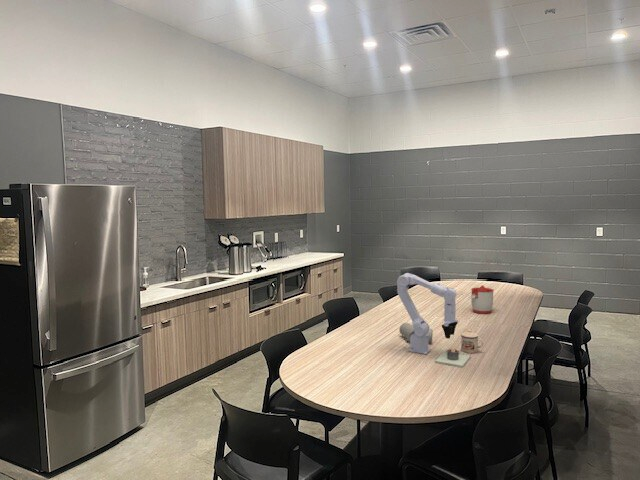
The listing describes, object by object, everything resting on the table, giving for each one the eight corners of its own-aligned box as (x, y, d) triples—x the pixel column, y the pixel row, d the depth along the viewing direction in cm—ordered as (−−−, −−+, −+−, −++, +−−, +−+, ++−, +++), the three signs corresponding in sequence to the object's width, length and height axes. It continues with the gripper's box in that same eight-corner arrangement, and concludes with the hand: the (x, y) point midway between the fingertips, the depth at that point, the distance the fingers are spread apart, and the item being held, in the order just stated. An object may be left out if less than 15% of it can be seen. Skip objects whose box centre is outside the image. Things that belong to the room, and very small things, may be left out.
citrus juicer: (464, 311, 350) (464, 284, 348) (482, 308, 357) (482, 282, 355) (479, 316, 336) (480, 288, 334) (497, 313, 343) (498, 286, 341)
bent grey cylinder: (396, 341, 276) (431, 344, 270) (396, 323, 277) (431, 325, 271) (400, 339, 293) (433, 341, 287) (400, 322, 294) (433, 324, 288)
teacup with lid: (458, 351, 260) (459, 331, 259) (462, 347, 268) (463, 327, 267) (481, 355, 254) (482, 334, 253) (484, 350, 262) (485, 329, 261)
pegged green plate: (434, 362, 243) (435, 352, 243) (444, 353, 257) (444, 343, 257) (462, 367, 236) (462, 356, 236) (470, 358, 250) (470, 347, 249)
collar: (446, 359, 246) (446, 351, 245) (448, 356, 250) (449, 348, 250) (457, 361, 243) (457, 353, 242) (459, 357, 248) (459, 350, 247)
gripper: (453, 315, 244) (453, 341, 245) (461, 309, 256) (460, 333, 258) (440, 313, 248) (440, 339, 249) (448, 308, 260) (447, 332, 261)
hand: (449, 336), depth 254 cm, fingers open, 7 cm apart
